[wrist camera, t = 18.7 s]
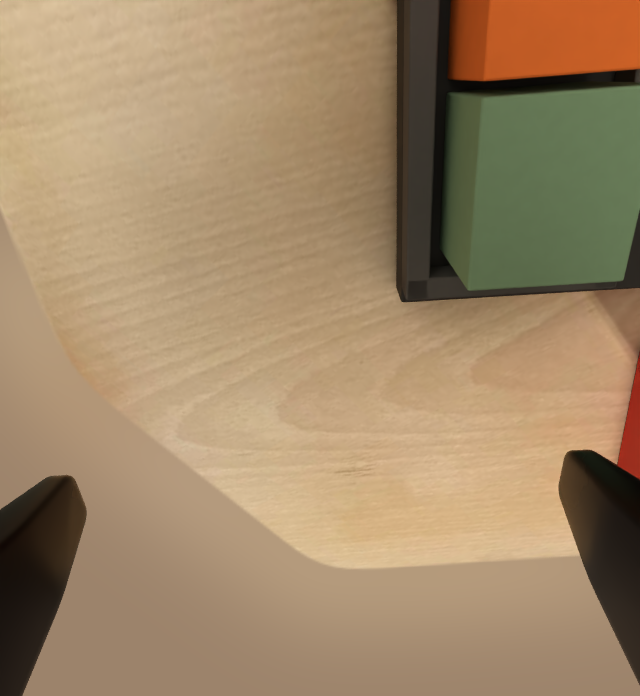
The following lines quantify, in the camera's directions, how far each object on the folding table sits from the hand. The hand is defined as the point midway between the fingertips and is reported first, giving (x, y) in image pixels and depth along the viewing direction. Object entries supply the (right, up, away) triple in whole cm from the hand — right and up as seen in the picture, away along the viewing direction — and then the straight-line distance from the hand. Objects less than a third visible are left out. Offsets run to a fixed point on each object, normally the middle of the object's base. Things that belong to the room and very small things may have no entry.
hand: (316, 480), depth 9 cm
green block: (+6, +8, +7) cm, 13 cm away
